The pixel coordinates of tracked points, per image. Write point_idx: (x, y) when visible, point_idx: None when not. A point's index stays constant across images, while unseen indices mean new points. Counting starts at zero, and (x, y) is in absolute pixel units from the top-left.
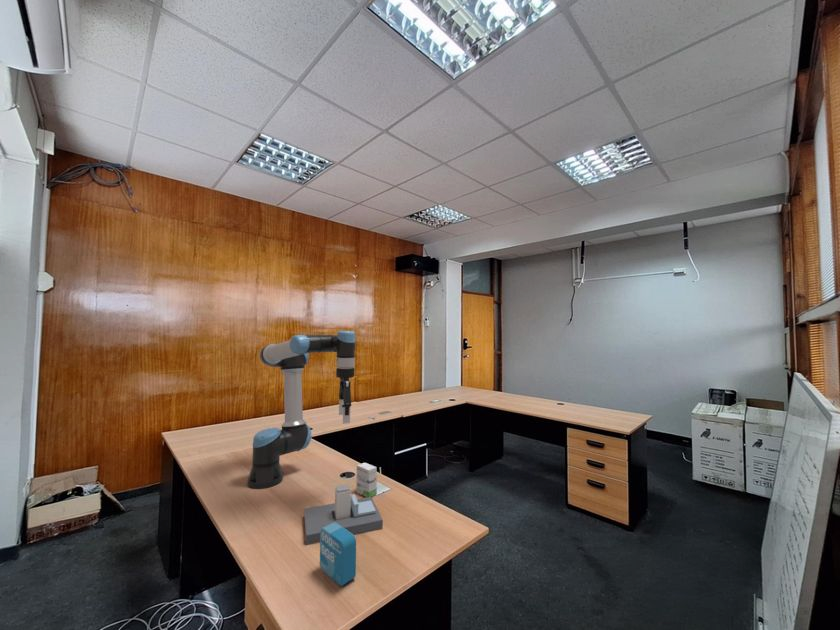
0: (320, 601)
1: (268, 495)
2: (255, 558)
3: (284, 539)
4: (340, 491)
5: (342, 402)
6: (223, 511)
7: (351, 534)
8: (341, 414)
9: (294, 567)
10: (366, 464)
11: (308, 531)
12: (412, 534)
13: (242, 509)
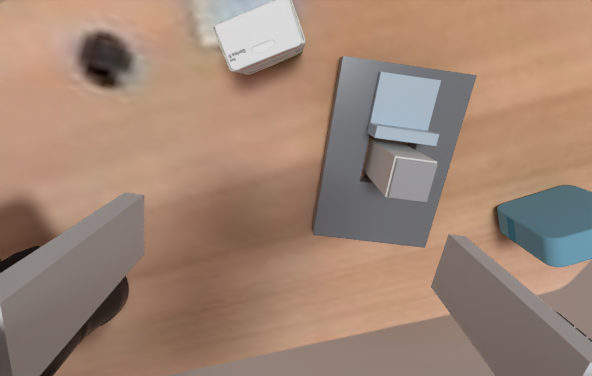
0: None
1: (171, 281)
2: (403, 311)
3: (376, 268)
4: (428, 192)
5: (49, 317)
6: (212, 354)
7: None
8: (141, 234)
9: None
10: (241, 27)
11: (413, 241)
12: (534, 13)
13: (219, 326)
